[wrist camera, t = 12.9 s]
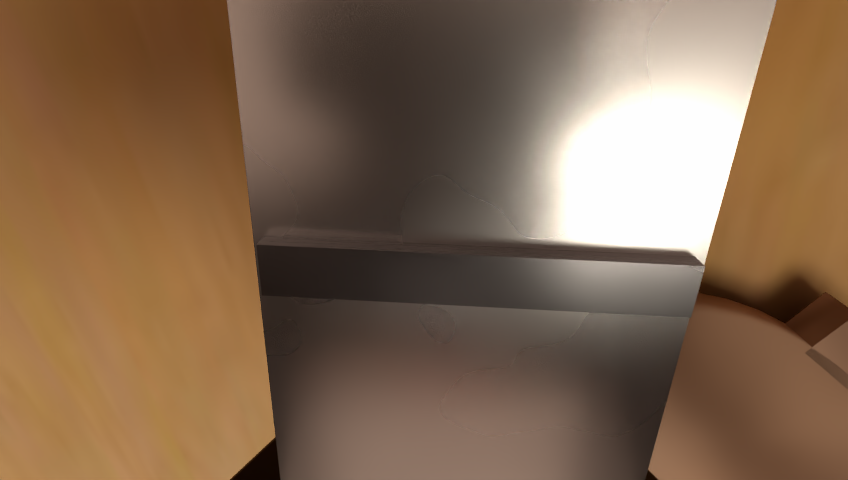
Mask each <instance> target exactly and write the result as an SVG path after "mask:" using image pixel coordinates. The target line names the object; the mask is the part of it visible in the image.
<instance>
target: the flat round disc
mask: <svg viewBox="0 0 848 480" xmlns="http://www.w3.org/2000/svg"><path fill="white" fill-rule="evenodd" d="M648 470H649V471H650V472H651V473H652V474H653V475H654V476H655V477H656V478H657V479H658V480H848V307H846V306H845V305H843V304H842V303H841V302H839V301H838V300H836V299H835V298H833V297H832V296H831V295H829V294H828V293H826V292H825V293H824V294H823V295H821V296H820V297H819V298H818V299H816V300H815V301H814V302H812V303H811V304H810V305H808V306H807V307H806V308H805V309H803V310H802V311H801V312H799V313H798V314H797V315H796V316H794V317H793V318H792V319H790V320H789V321H788V322H786V323H783V322H781V321H779V320H777V319H776V318H774V317H772V316H770V315H768V314H766V313H764V312H762V311H760V310H758V309H755V308H752V307H749V306H746V305H744V304H741V303H738V302H735V301H732V300H729V299H726V298H721V297H717V296H712V295H707V294H703V293H698V294H697V298H696V302H695V305H694V309H693V312H692V316H691V318H689V322H688V326H687V329H686V333H685V336H684V340H683V344H682V347H681V351H680V355H679V358H678V362H677V366H676V369H675V373H674V377H673V380H672V384H671V388H670V391H669V395H668V398H667V402H666V406H665V409H664V413H663V417H662V420H661V424H660V428H659V431H658V435H657V439H656V442H655V446H654V450H653V453H652V457H651V460H650V464H649V468H648Z"/></svg>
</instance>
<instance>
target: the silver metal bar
mask: <svg viewBox="0 0 848 480" xmlns="http://www.w3.org/2000/svg"><path fill="white" fill-rule="evenodd" d="M776 1H777V0H227V6H228V15H229V23H230V32H231V41H232V50H233V59H234V68H235V77H236V86H237V95H238V104H239V113H240V122H241V131H242V140H243V149H244V158H245V167H246V176H247V185H248V194H249V203H250V212H251V221H252V229H253V238H254V247H255V256H256V265H257V274H258V283H259V292H260V301H261V310H262V319H263V328H264V337H265V346H266V355H267V364H268V373H269V382H270V391H271V400H272V409H273V418H274V427H275V435H276V444H277V453H278V462H279V471H280V480H645V479H646V475H647V471H648V468H649V464H650V460H651V457H652V453H653V450H654V446H655V442H656V439H657V435H658V431H659V428H660V424H661V420H662V417H663V413H664V409H665V406H666V402H667V398H668V395H669V391H670V388H671V384H672V380H673V377H674V373H675V369H676V366H677V362H678V358H679V355H680V351H681V347H682V344H683V340H684V336H685V333H686V329H687V326H688V322H689V318H691V316H692V312H693V309H694V305H695V302H696V298H697V294H698V291H699V287H700V283H701V280H702V276H703V272H704V269H705V266H704V264H705V260H706V256H707V253H708V249H709V245H710V242H711V238H712V234H713V231H714V227H715V223H716V220H717V216H718V212H719V209H720V205H721V202H722V198H723V194H724V191H725V187H726V183H727V180H728V176H729V172H730V169H731V165H732V161H733V158H734V154H735V150H736V147H737V143H738V140H739V136H740V132H741V129H742V125H743V121H744V118H745V114H746V110H747V107H748V103H749V99H750V96H751V92H752V88H753V85H754V81H755V78H756V74H757V70H758V67H759V63H760V59H761V56H762V52H763V48H764V45H765V41H766V37H767V34H768V30H769V27H770V23H771V19H772V16H773V12H774V8H775V5H776Z"/></svg>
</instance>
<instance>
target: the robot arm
mask: <svg viewBox="0 0 848 480" xmlns="http://www.w3.org/2000/svg"><path fill="white" fill-rule="evenodd" d="M230 480H280V471H279V462H278V453H277V444H276V437H275V438H274V439H273V440H272V441H271V442H270V443H269V444H268V445H266V446H265V447H264V448H263V449H262V450H261V451H260V452H259V453H258V454H257V455H256V456H255V457H254V458H253V459H252V460H250V461H249V462H248V463H247V464H246V465H245V466H244V467H243V468H242V469H241V470H240V471H239V472H238V473H237V474H236V475H234V476H233V477H232V478H231V479H230ZM645 480H658V479H657V478H656V477H655V476H654V475H653V474H652V473H651V472H650V471H649V470H648V471H647V475H646V479H645Z"/></svg>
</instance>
